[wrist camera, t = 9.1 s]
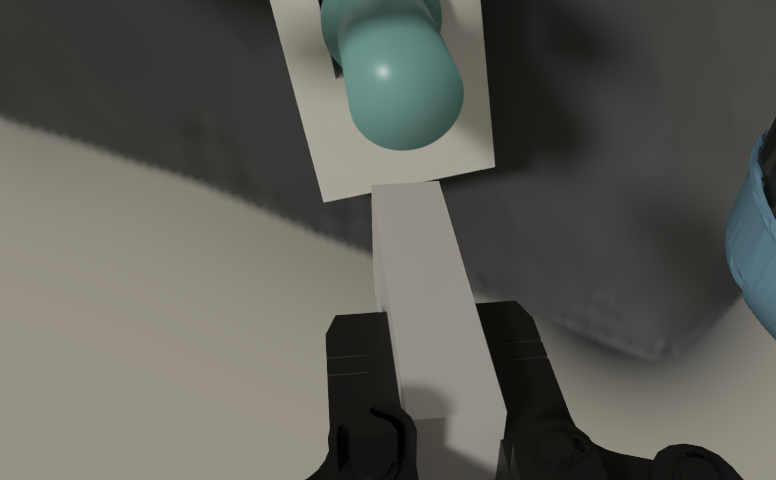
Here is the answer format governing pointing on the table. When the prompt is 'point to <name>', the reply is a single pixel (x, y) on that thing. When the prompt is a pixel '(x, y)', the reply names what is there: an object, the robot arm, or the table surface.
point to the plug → (394, 69)
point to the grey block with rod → (336, 127)
